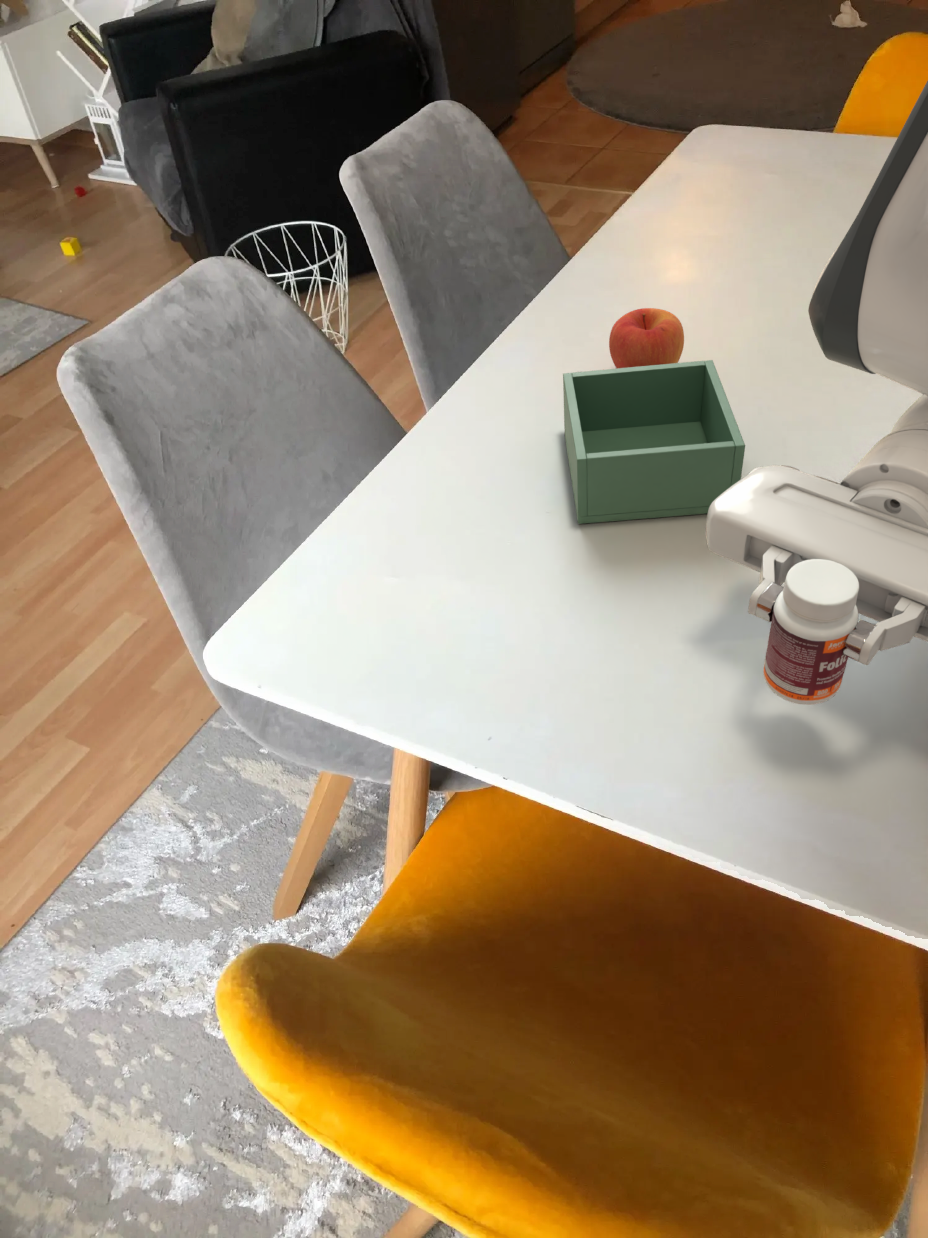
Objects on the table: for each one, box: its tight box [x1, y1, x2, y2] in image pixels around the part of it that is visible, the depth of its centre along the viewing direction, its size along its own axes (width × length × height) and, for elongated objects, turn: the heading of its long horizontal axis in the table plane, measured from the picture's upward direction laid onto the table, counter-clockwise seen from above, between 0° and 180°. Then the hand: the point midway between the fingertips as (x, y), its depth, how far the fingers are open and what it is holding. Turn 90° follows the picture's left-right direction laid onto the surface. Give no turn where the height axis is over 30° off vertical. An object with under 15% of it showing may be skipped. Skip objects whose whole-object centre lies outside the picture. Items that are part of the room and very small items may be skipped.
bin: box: [562, 359, 746, 525], centre depth 85 cm, size 14×14×7 cm
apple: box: [608, 307, 685, 369], centre depth 96 cm, size 7×7×8 cm
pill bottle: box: [762, 559, 859, 706], centre depth 58 cm, size 5×5×8 cm
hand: (806, 631), depth 57 cm, fingers closed on pill bottle, 5 cm apart
